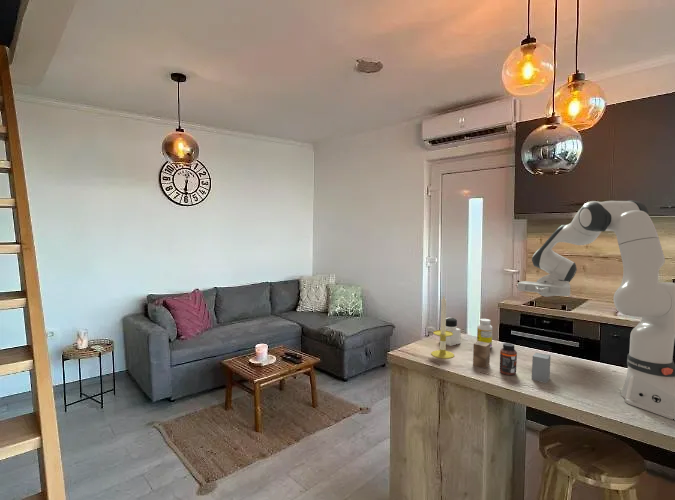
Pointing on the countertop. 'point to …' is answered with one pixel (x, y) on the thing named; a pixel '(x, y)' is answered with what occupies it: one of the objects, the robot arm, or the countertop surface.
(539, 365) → the slate block
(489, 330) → the supplement bottle
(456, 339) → the medicine bottle
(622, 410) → the countertop surface
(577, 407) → the countertop surface
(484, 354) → the walnut block
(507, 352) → the supplement bottle
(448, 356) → the candle
